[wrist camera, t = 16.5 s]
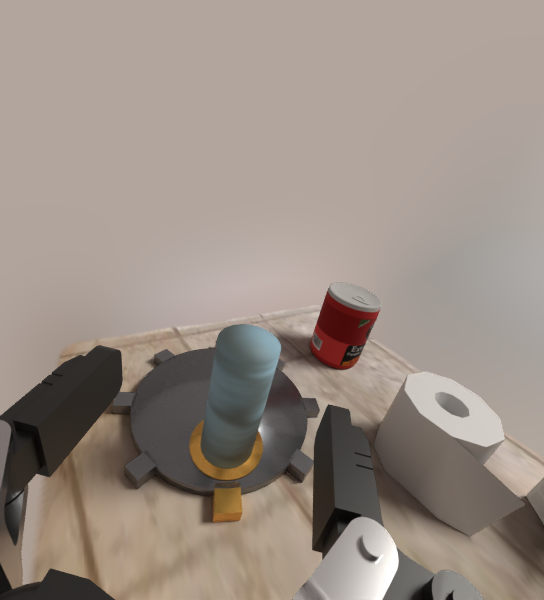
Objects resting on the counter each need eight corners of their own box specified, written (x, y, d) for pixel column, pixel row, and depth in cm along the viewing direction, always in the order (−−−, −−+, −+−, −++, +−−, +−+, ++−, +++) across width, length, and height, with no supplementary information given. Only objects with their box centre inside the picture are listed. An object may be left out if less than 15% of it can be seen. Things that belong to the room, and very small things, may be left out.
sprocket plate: (257, 339, 48) (259, 331, 47) (355, 456, 32) (360, 447, 32) (103, 367, 36) (103, 357, 35) (144, 572, 21) (145, 562, 20)
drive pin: (238, 416, 32) (261, 321, 27) (262, 456, 28) (293, 356, 23) (192, 431, 29) (207, 328, 24) (212, 478, 26) (234, 370, 20)
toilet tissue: (487, 563, 26) (549, 507, 22) (358, 446, 34) (388, 390, 30) (508, 498, 32) (560, 446, 28) (395, 412, 40) (423, 362, 36)
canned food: (347, 378, 44) (375, 314, 39) (300, 352, 47) (320, 290, 42) (362, 355, 50) (388, 297, 45) (319, 333, 53) (339, 277, 48)
